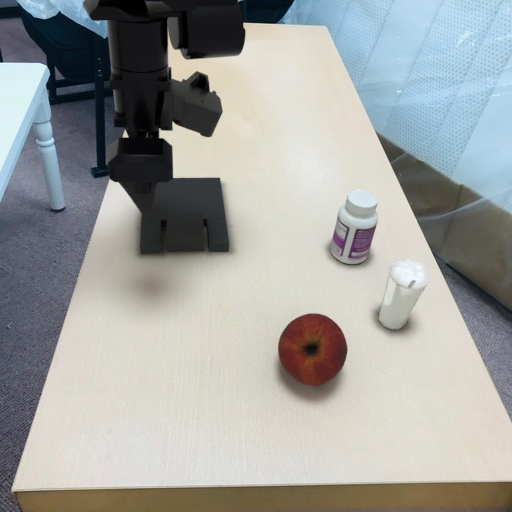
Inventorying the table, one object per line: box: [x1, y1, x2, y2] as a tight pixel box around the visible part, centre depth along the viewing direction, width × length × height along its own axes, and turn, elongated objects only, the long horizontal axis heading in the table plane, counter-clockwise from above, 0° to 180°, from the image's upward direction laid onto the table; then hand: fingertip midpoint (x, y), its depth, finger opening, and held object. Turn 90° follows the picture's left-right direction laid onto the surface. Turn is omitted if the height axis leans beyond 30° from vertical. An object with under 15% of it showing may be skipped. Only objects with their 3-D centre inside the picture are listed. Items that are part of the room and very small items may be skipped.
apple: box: [277, 312, 349, 387], centre depth 55 cm, size 7×8×8 cm
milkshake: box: [378, 258, 430, 330], centre depth 60 cm, size 4×5×10 cm
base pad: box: [139, 177, 230, 255], centre depth 75 cm, size 12×16×2 cm
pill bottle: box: [330, 188, 379, 265], centre depth 69 cm, size 5×5×10 cm
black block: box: [166, 212, 205, 253], centre depth 71 cm, size 5×5×3 cm
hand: (146, 189), depth 62 cm, fingers open, 9 cm apart
